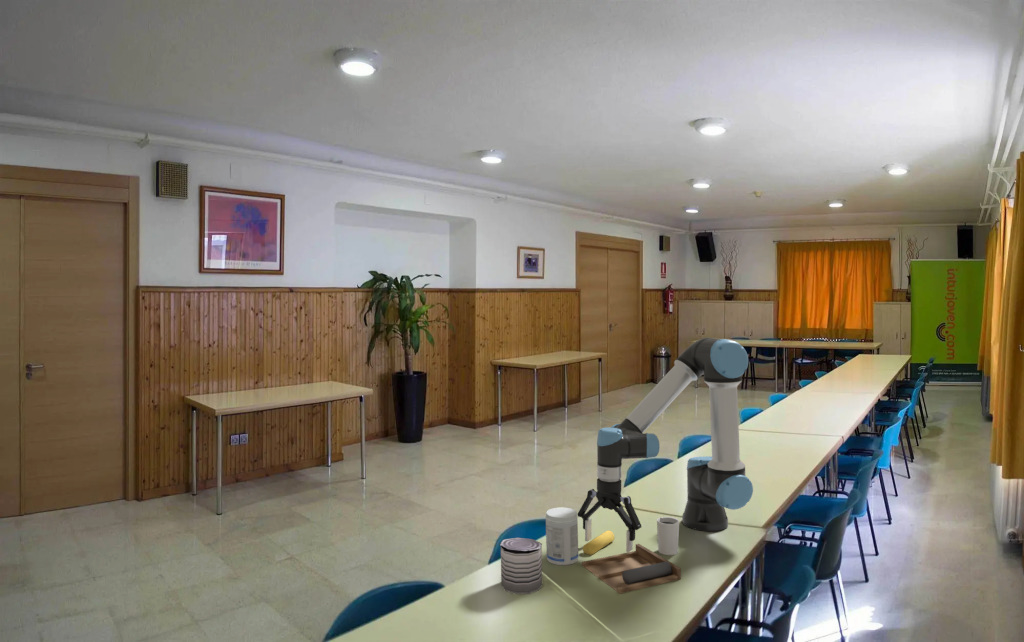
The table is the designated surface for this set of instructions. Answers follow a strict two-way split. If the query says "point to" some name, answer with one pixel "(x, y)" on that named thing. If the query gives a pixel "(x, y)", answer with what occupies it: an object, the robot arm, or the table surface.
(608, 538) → the ochre rod
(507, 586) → the can
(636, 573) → the charcoal rod
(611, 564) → the walnut slot rack
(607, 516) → the table surface
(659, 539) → the white cup
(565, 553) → the supplement tub
